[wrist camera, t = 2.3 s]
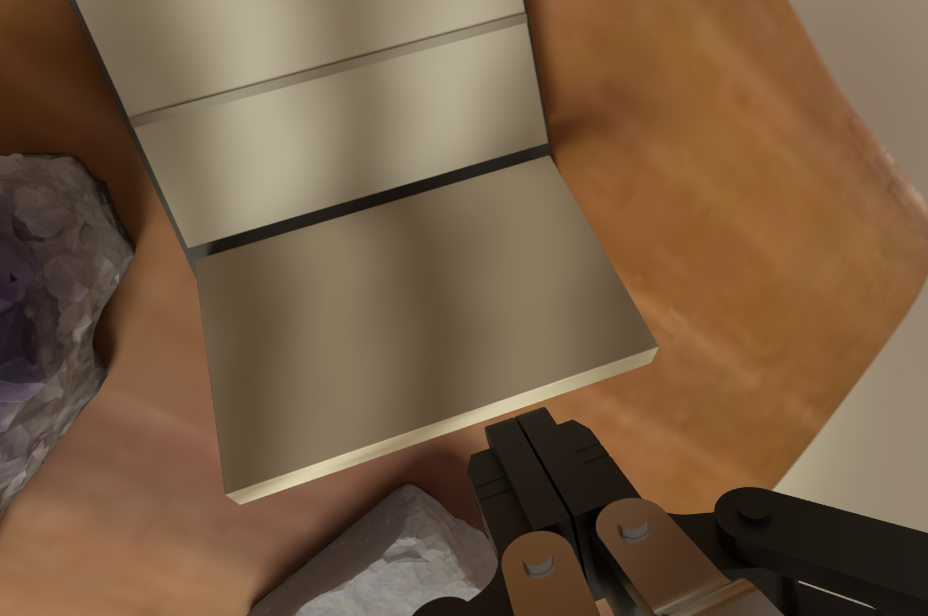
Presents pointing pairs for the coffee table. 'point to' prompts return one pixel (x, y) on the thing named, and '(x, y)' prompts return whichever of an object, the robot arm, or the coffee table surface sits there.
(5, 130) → the coffee table surface
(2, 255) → the geode
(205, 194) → the laid floor
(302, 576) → the stone block
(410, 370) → the beige flat rectangular panel
